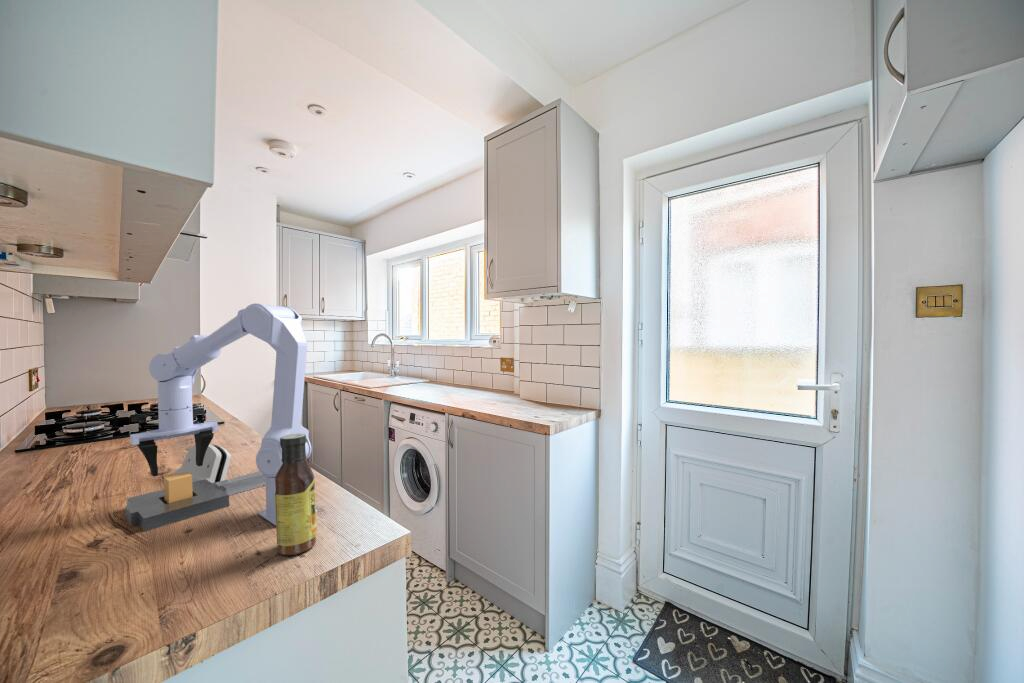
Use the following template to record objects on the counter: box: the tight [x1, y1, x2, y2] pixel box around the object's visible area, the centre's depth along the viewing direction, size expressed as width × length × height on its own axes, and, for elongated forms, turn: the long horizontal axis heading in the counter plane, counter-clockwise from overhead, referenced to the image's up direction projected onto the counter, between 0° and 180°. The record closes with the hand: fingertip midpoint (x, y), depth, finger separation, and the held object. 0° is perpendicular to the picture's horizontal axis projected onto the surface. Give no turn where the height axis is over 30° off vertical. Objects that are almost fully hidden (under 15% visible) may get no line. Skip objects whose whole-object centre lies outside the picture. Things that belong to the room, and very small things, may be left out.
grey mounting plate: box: [124, 470, 266, 532], centre depth 91 cm, size 16×27×3 cm, turn 143°
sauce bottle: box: [275, 434, 318, 556], centre depth 70 cm, size 7×6×20 cm
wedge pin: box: [163, 472, 193, 504], centre depth 87 cm, size 4×4×7 cm
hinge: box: [173, 443, 232, 484], centre depth 105 cm, size 17×5×10 cm, turn 60°
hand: (177, 470), depth 87 cm, fingers open, 7 cm apart
